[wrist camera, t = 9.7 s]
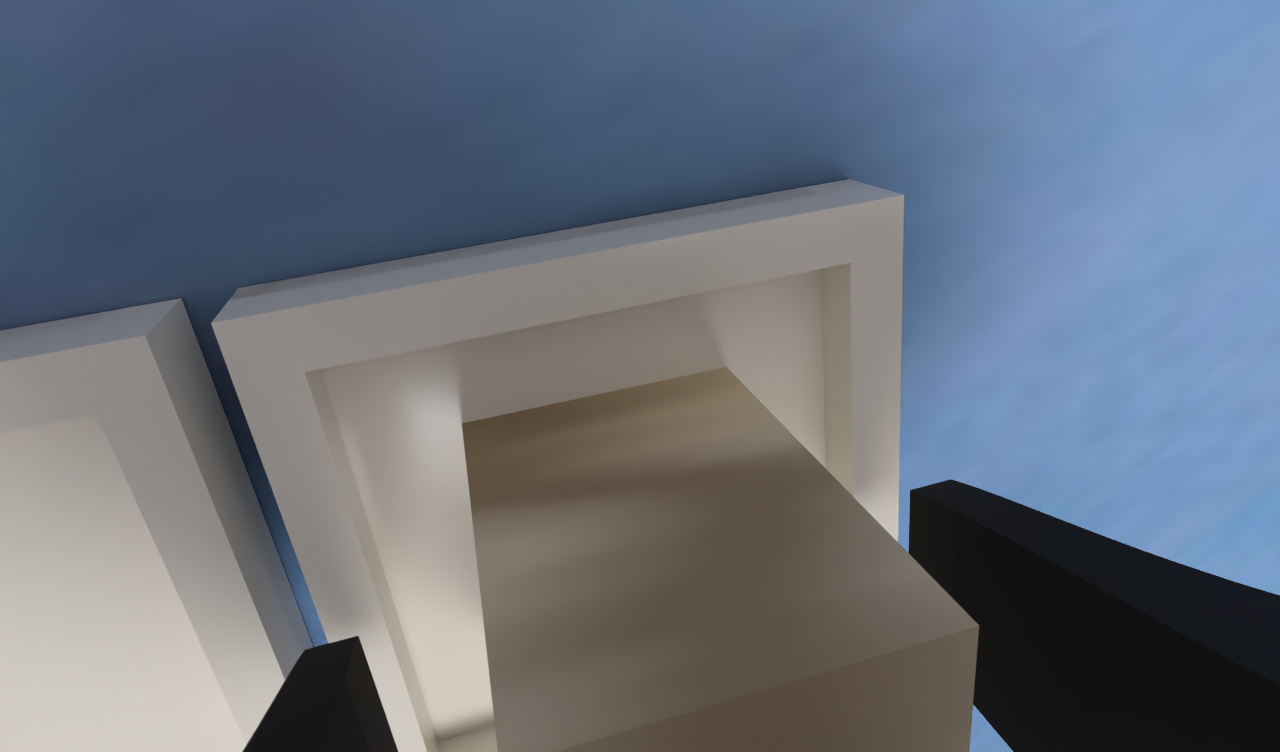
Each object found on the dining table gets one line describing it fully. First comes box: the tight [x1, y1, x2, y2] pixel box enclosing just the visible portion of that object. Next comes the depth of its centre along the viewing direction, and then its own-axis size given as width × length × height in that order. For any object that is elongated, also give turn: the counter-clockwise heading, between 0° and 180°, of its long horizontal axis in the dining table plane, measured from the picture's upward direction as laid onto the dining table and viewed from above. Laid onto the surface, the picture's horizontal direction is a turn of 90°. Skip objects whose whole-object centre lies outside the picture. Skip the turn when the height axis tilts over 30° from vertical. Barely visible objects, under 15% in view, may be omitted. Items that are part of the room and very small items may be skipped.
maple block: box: [462, 367, 979, 752], centre depth 10 cm, size 4×4×6 cm
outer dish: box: [211, 179, 904, 752], centre depth 12 cm, size 9×9×2 cm
